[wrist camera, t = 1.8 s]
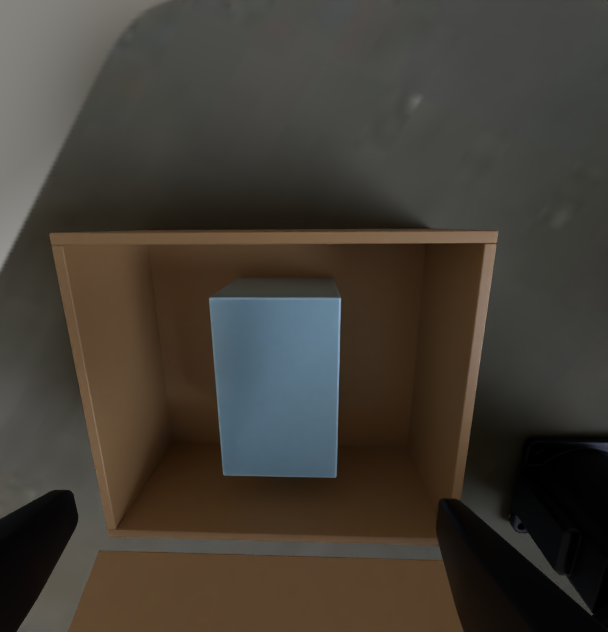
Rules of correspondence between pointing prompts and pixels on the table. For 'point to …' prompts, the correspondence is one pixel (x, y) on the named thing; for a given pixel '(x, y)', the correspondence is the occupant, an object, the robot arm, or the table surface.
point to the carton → (200, 387)
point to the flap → (264, 594)
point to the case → (277, 375)
